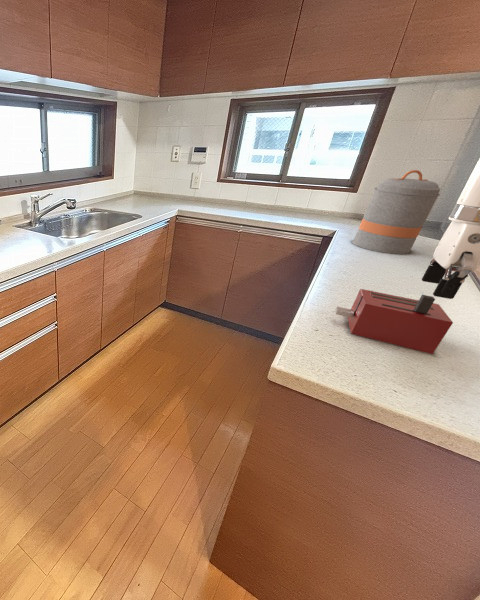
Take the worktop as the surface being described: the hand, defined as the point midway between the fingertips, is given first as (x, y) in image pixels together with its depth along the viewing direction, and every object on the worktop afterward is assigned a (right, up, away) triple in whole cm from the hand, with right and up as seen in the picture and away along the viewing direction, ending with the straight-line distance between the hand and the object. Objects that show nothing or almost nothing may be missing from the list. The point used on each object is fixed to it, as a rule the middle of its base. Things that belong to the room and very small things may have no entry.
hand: (435, 289), depth 75 cm
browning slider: (-1, -5, +3) cm, 6 cm away
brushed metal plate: (-10, -6, +14) cm, 19 cm away
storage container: (+64, +24, +83) cm, 108 cm away
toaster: (-1, -11, +11) cm, 16 cm away
